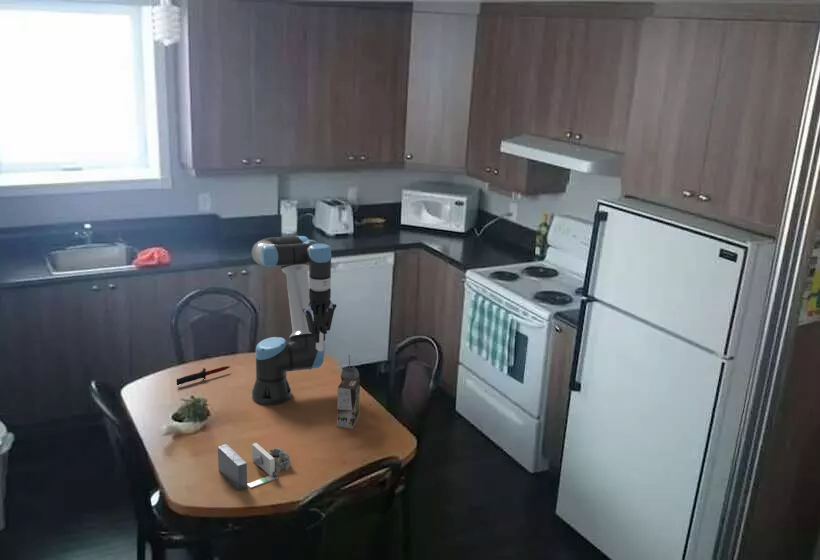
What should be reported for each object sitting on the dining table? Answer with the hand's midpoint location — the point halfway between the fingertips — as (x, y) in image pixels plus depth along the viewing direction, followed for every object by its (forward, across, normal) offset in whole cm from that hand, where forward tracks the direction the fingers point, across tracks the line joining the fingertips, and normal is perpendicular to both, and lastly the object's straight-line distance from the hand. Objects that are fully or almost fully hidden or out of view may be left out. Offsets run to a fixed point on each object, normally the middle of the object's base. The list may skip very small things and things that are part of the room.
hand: (319, 349), depth 284 cm
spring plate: (+29, -33, -16) cm, 47 cm away
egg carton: (+30, -27, -15) cm, 43 cm away
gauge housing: (+29, -37, -15) cm, 50 cm away
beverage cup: (+30, +18, +6) cm, 35 cm away
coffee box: (+30, +9, -6) cm, 32 cm away
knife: (+30, -19, +56) cm, 66 cm away
